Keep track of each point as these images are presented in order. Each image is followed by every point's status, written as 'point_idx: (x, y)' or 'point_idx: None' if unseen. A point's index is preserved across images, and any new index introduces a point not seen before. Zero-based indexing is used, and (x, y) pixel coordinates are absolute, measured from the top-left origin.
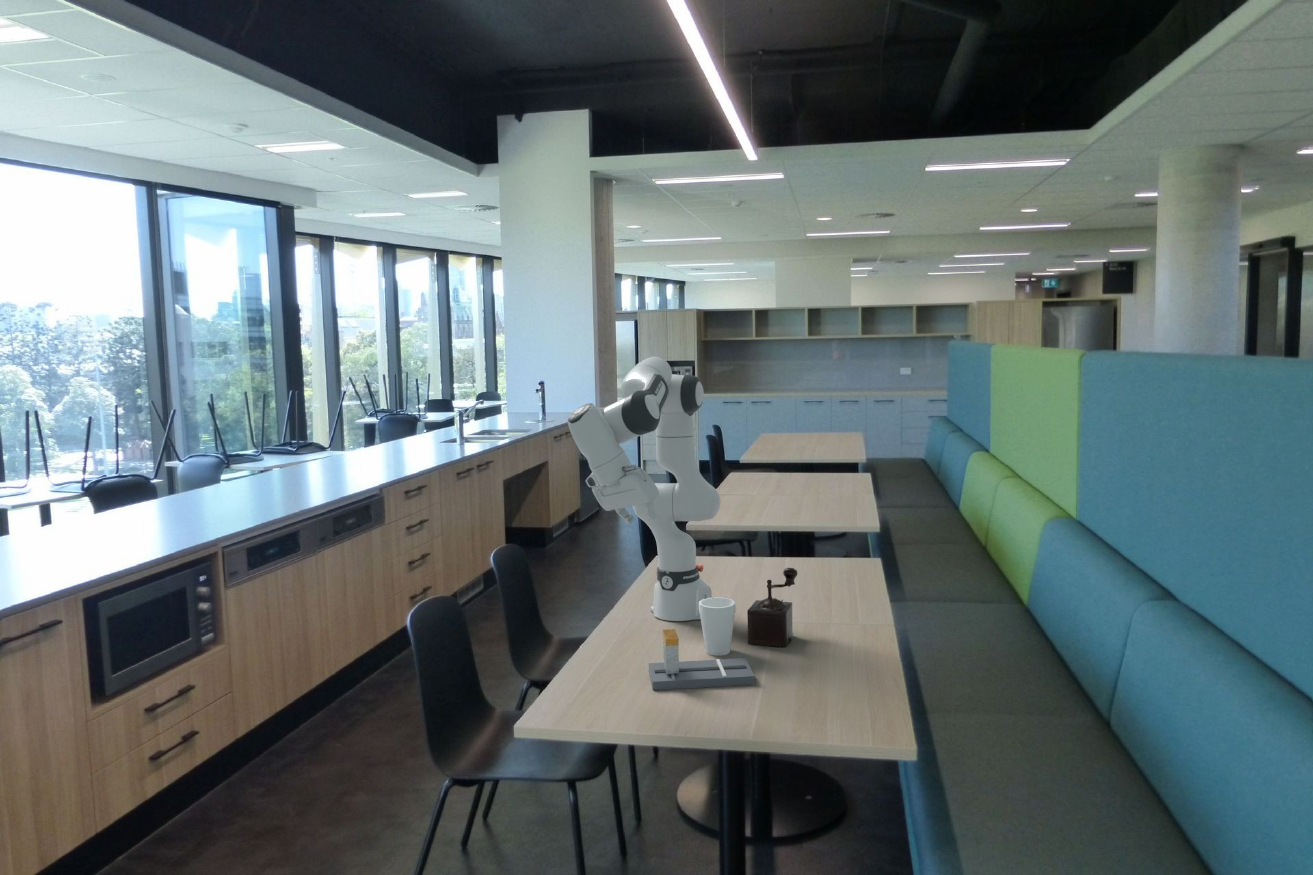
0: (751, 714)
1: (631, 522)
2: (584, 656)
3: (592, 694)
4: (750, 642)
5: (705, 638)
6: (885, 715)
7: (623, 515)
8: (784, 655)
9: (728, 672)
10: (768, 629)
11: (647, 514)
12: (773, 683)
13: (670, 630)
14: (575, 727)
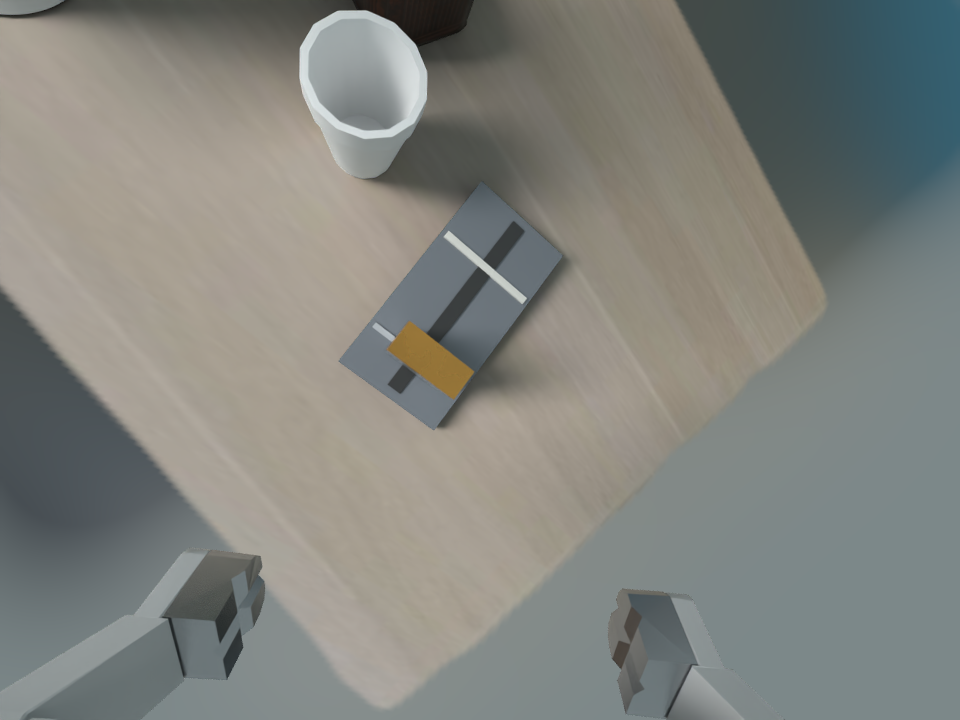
0: (633, 371)
1: (262, 586)
2: (114, 412)
3: (354, 538)
4: None
5: (352, 165)
6: (768, 224)
7: (148, 702)
8: (495, 76)
9: (512, 276)
10: (437, 11)
11: (662, 712)
12: (576, 230)
13: (407, 338)
14: (459, 645)
